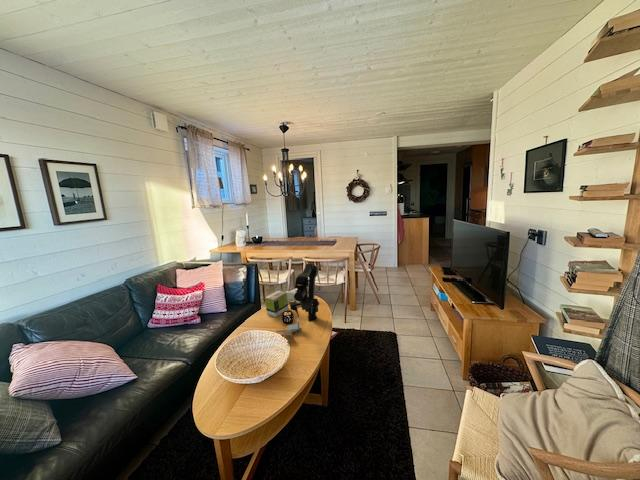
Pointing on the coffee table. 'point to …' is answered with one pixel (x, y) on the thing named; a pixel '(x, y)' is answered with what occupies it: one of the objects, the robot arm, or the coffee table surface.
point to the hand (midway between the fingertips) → (305, 315)
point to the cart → (294, 327)
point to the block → (288, 335)
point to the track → (286, 330)
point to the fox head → (292, 295)
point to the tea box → (276, 303)
